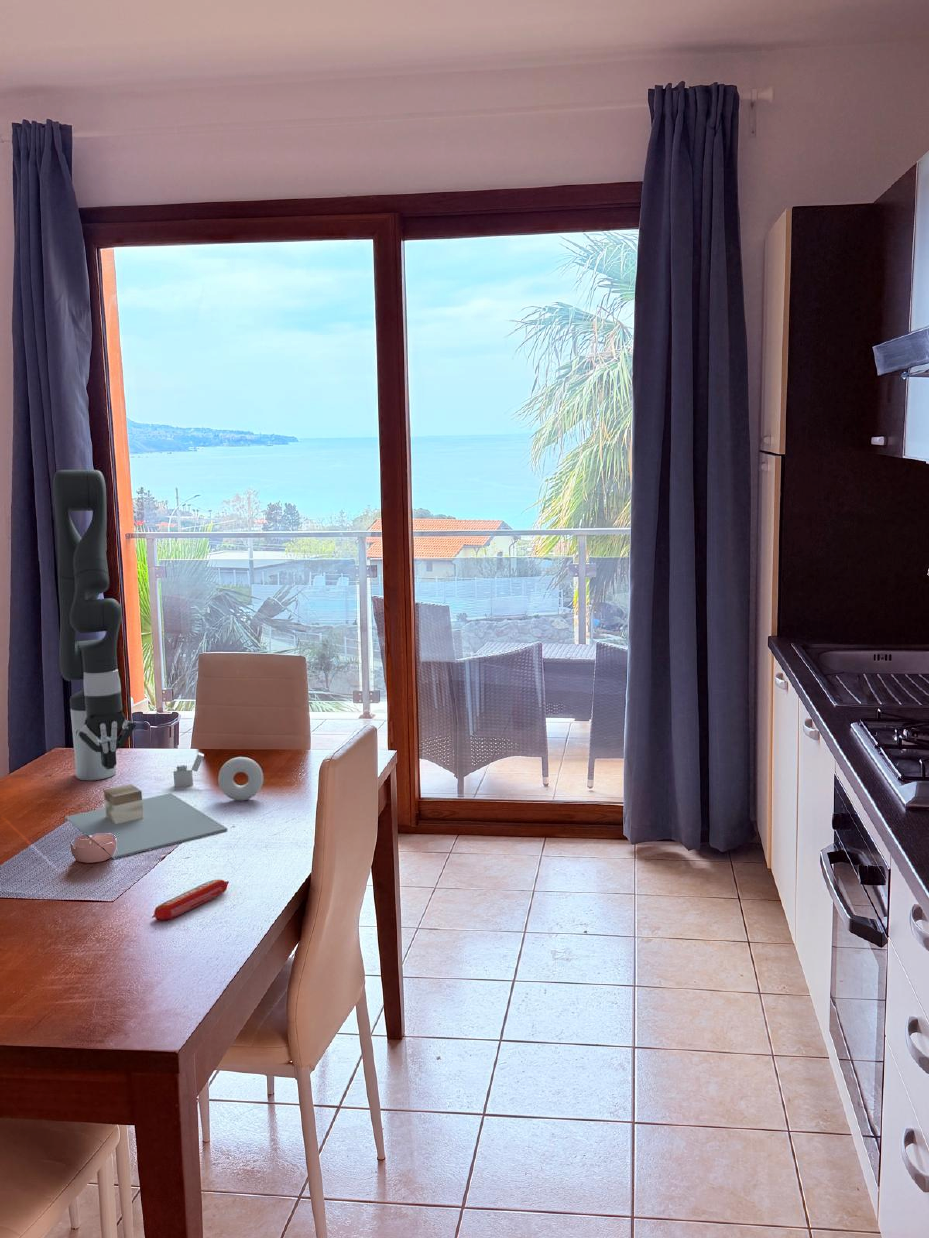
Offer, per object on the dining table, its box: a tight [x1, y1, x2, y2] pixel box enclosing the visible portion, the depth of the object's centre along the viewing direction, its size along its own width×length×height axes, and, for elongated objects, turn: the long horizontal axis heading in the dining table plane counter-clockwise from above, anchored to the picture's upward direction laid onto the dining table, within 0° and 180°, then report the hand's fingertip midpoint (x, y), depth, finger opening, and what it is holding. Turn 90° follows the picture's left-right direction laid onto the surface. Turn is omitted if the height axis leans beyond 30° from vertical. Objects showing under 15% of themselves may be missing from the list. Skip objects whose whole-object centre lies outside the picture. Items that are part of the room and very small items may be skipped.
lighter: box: [172, 752, 205, 788], centre depth 258 cm, size 7×2×8 cm, turn 100°
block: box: [103, 783, 143, 824], centre depth 236 cm, size 6×6×6 cm
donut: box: [217, 756, 264, 802], centre depth 247 cm, size 10×4×10 cm, turn 97°
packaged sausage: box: [151, 879, 230, 921], centre depth 192 cm, size 16×4×3 cm, turn 147°
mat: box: [64, 792, 228, 860], centre depth 233 cm, size 30×24×1 cm
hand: (109, 768), depth 241 cm, fingers closed
